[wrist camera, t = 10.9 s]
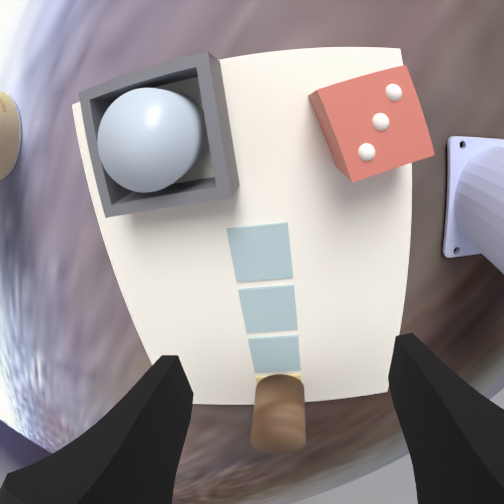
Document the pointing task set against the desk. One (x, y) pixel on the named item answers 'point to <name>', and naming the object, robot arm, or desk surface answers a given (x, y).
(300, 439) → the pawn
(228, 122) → the board
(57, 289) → the desk surface
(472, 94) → the desk surface
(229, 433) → the desk surface
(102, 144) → the dome
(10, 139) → the coffee cup
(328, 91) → the die
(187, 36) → the desk surface
